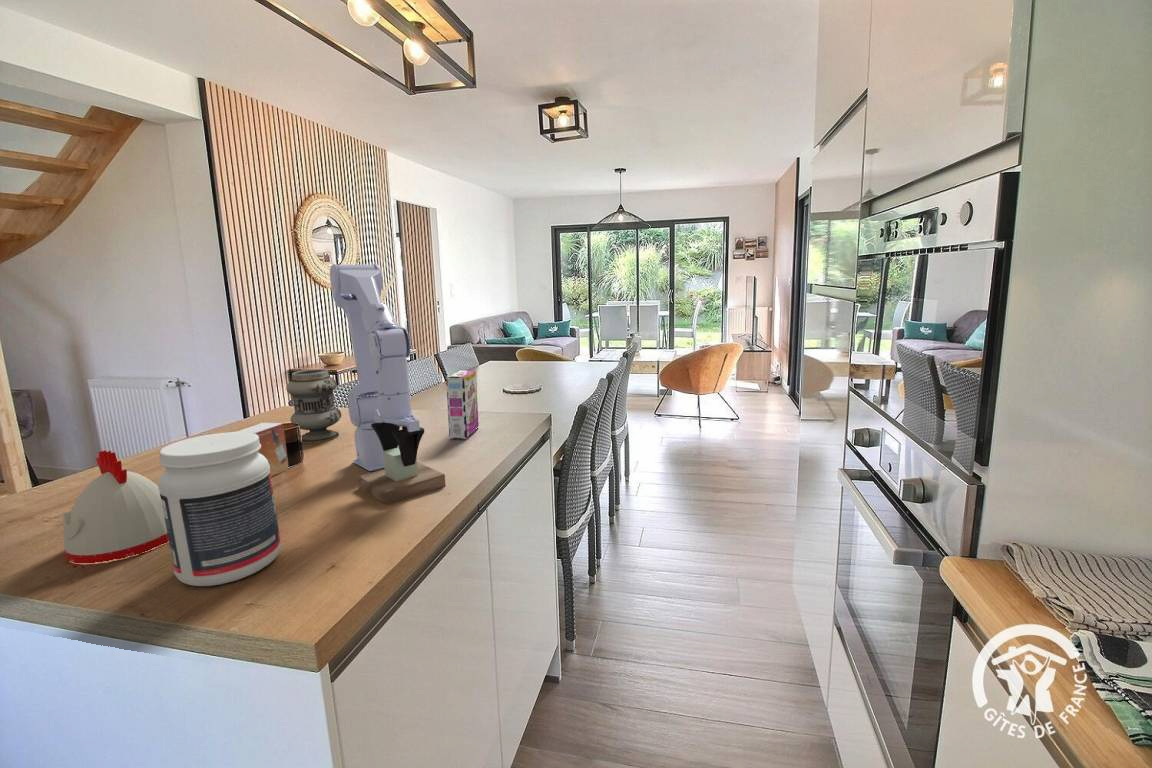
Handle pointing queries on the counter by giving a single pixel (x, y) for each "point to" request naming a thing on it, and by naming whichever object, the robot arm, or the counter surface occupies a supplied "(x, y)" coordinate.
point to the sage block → (397, 466)
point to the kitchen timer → (114, 516)
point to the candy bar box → (462, 404)
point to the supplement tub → (218, 508)
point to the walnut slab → (401, 484)
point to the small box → (271, 445)
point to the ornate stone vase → (314, 404)
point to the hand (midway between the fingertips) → (400, 460)
